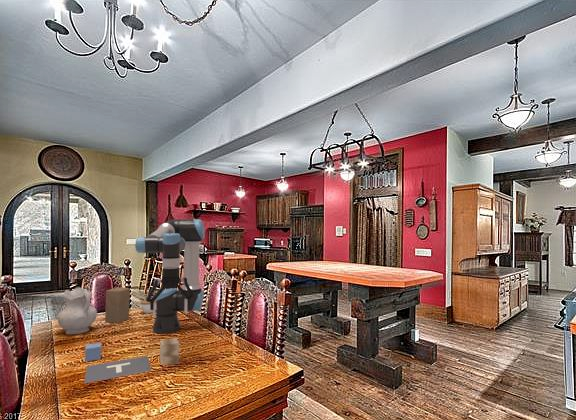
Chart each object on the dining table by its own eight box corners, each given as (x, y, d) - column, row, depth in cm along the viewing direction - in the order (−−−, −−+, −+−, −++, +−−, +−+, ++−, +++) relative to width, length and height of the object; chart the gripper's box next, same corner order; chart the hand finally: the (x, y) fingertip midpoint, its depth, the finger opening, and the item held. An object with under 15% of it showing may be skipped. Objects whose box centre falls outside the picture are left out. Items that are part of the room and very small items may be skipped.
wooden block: (118, 323, 207) (119, 290, 208) (104, 322, 209) (105, 290, 210) (129, 318, 217) (130, 288, 218) (115, 318, 219) (116, 287, 220)
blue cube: (100, 355, 155) (101, 342, 155) (100, 360, 150) (100, 346, 150) (85, 358, 152) (86, 344, 152) (84, 362, 147) (85, 349, 147)
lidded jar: (143, 310, 239) (143, 297, 239) (158, 310, 240) (159, 297, 240) (138, 314, 228) (138, 300, 229) (154, 314, 229) (154, 300, 230)
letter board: (147, 356, 153) (147, 355, 153) (151, 371, 138) (151, 370, 138) (86, 367, 142) (86, 366, 142) (83, 384, 126) (84, 383, 126)
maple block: (176, 358, 152) (176, 338, 153) (178, 363, 146) (179, 342, 146) (159, 360, 149) (160, 340, 149) (162, 366, 143) (162, 345, 143)
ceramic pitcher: (106, 330, 195) (110, 287, 199) (75, 338, 177) (80, 291, 180) (79, 327, 202) (83, 285, 206) (47, 334, 184) (52, 288, 187)
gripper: (197, 265, 159) (196, 310, 158) (140, 268, 147) (139, 316, 146) (200, 266, 152) (200, 313, 151) (141, 270, 140) (140, 321, 139)
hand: (170, 315), depth 149 cm, fingers open, 13 cm apart
